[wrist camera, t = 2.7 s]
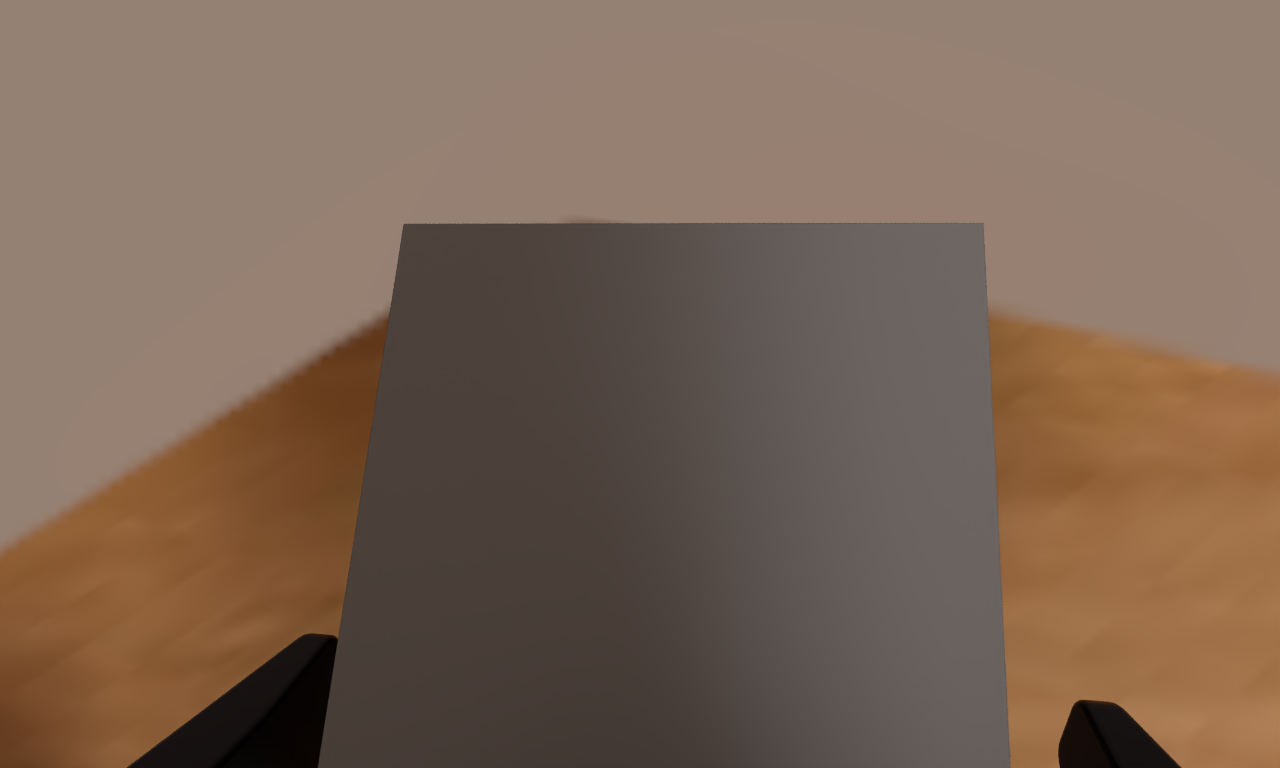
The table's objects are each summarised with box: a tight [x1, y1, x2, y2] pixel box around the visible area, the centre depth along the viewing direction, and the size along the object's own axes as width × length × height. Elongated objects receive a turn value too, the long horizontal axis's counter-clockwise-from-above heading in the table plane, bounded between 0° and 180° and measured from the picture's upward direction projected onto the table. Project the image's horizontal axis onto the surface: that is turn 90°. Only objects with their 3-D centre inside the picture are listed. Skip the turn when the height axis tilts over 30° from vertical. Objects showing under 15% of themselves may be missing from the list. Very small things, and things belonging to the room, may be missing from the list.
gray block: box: [318, 223, 1010, 768], centre depth 12 cm, size 6×6×12 cm
